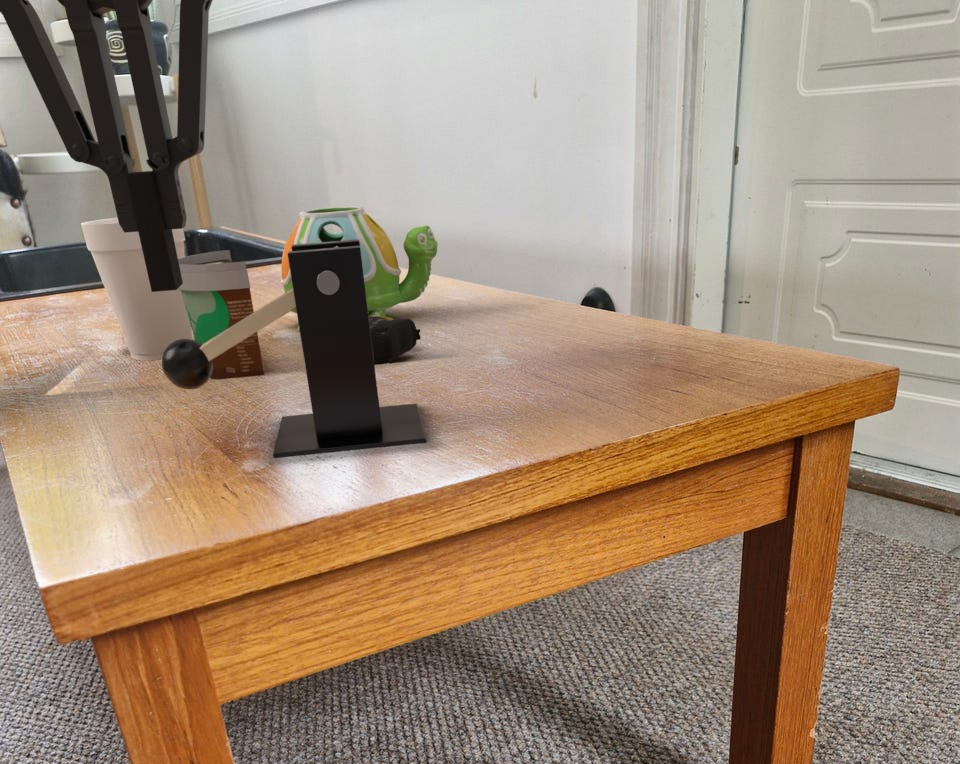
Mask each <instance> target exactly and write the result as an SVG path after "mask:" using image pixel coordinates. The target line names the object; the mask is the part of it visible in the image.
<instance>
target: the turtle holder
mask: <svg viewBox="0 0 960 764" xmlns="http://www.w3.org/2000/svg"><path fill="white" fill-rule="evenodd" d="M327 225H328V226H329V225H333V226H337V227H338V228H339V229H340V230H341V231H342V232H339V233H330V232H328V230H326V229H325V227H326V226H327ZM357 239H358V240H359V241H360V249H361V257H362V266H363V274H364V282H365V291H366V299H367V307H368V316H369V317H372V316H384V317H386V310H387V309H389V308H392V307H395V306H398V305H400V304H402V303H409V302H412V301H415V300H416V299H418V298H419V297H420V296H421V295H422V293H424V292H425V290H426V288H427V287H428V284H429V283H428V282H429V281H430V276H431V273H432V272H431V271H432V262H433V261H432V260H434V258H435V257H436V256H437V253H438V241H437V240H436V239H435V236H434V232H433V230H432V229H431V227H430V226H429V225H423V226H416V227H413V228H411V229H410V230H409V231H408V232H407V233H406V236H405V239H404V242H403V250H404V252H405V254H406V256H407V259H408V269H407V273H406V276H405V277H404V279H403V280H402V281H401V282H400V276H401V274H402V270H401V268H400V266H399V261H398V258H397V255H396V254H397V253H396V251H395V248H394V247H393V244H392V242H391V240H390V238H389V237H388V234H387V233H386V231H385V230H384V229H383V228H382V227H381V226H380V225H379V224H378V222H376V221H375V220H374V219H373V218H372V217H371V216H370V215H369V214H367V213H366V212H365V209H364V206H359V205H353V206H352V205H349V206H334V207H333V206H332V207H331V206H330V207H320V208H312V209H307V210H303V211H301V212H300V213H299V220H298V221H297V222H296V225H295V227H294V229H293V230H292V231H291V234H290V235H289V237H288V239H287V240H286V242H285V243H284V247H283V251H282V257H281V279H280V284H281V285H282V286H283V290H284V293H286V292H287V291H289V290H291V289H292V288H293V285H292V279H291V272H290V266H289V260H288V252H289V251H292V248H291V247H292V245H296V244H308V243H320V242H332V241H344V240H357ZM290 312H291V313H294V314H297V310H296V308H295V309H293V310H291V311H290ZM297 332H299V333H300V329H299V325H298V326H297Z"/></svg>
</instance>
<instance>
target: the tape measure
mask: <svg viewBox="0 0 960 764" xmlns="http://www.w3.org/2000/svg"><path fill="white" fill-rule="evenodd" d="M369 324H370V332H371V341H372V349H373V357H374V364H378V363H383V364H391V363H392V361H394V360H396V359H398V358H399V357H401V356H402V355H404V354H406V353H408V352H410V351H411V350H412V349H414V348H415V346H416V345H417V342H418V341H420V340H421V334H420V333H421V329H420V328H419V329H417V326H416V323H415V321H414V320H413V319H411V318H394V317H391V316H390V317H389V316H385V317H384V316H372V317H369Z"/></svg>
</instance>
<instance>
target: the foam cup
mask: <svg viewBox="0 0 960 764" xmlns="http://www.w3.org/2000/svg"><path fill="white" fill-rule="evenodd" d="M80 225H81V230H82V233H83V236H84V241H85V244H86V248H87V251H89V252H90V253H91V256H92V259H93V261H94V264H95V267H96V269H97V272H98V274H99V277H100V279H101V282H102V285H103V288H104V290H105V293H106V295H107V298H108V300H109V302H110V306H111V308H112V310H113V313H114V315H115V318H116V320H117V324H118V326H119V328H120V332H121V334H122V336H123V338H124V341H125V343H126V346H127V349H128V352H129V353H130V356H131V358H132V360H134V361H158V360H159V361H160V360H162V355H163V352H164V350H165V349H166V347H167V346H168V345H169V344H170V343H172V342H173V341H176V340H179V339H191V340H193V331H192V328H191V324H190V321H189V318H188V314H187V311H186V307H185V304H184V300H183V297H182V293H181V290H171V291H157V292H152V291H151V286H150V282H149V277H148V273H147V268H146V264H145V259H144V255H143V251H142V246H141V242H140V237H139V233H138V232H126V233H124V231H123V229H122V228H121V226H120V225H119V222H118V217H111V218H103V219H96V220H89V221H85V222H81V223H80ZM172 233H173V238H174V242H175V247H176V252H177V257H178V259H179V258H183V257H186V255H185V244H184V242H185V241H186V237H185V231H184V227H183V228H182V229H172Z"/></svg>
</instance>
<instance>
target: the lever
mask: <svg viewBox="0 0 960 764" xmlns="http://www.w3.org/2000/svg"><path fill="white" fill-rule="evenodd" d="M337 247H338V246H336V247H334V248H337ZM295 308H296V304H295V298H294V291H293V288H292V289H291V290H289V291H287V292H286V293H285V292H284V293H283V294H281V295H279V296H277V297H276V298H274V299H273V300H271V301H269V302H268V303H266V304H265V305H263V306H261V307H260V308H258V309H257V310H255V311H254V313H252V314H250V315H249V316H247V317H246V318H244V319H242V320H241V321H239V322H238V323H236V324H234V325H233V326H231V327H230V328H228V329H226V330H225V331H223V332H221V333H220V334H218V335H217V336H215V337H213V338H212V339H210V340H209V341H207V342H205V343H204V344H202V345H201V344H200V343H198V342H197V341H195V339H192V340H191V339H179V340H176V341H173V342H172V343H170V344H169V345H168V346H167V347H166V349H165V350H164V352H163V355H162V359H161V368H162V371H163V374H164V376H165V377H166V378H167V380H168V381H169V382H170V383H171V384H172V385H173V386H176V387H177V388H180V389H183V390H197V389H200V388H201V387H203V386H205V385H206V383H208V381H209V380H210V379H211V378H210V377H211V374H212V369H213V363H212V359H214V358H216V357H217V356H219V355H220V354H222V353H224V352H225V351H227V350H228V349H230V348H232V347H233V346H235V345H237V344H238V343H240V342H241V341H243V340H245V339H246V338H248V337H249V336H251V335H253V334H254V333H256V332H257V333H258V332H259V331H261V330H262V329H264V328H266V327H268V326H269V325H271V324H273V323H274V322H275V321H277V320H279V319H281V318H282V317H283V316H285V315H287V314H288V313H290V312H291V310H293V309H295Z"/></svg>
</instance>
